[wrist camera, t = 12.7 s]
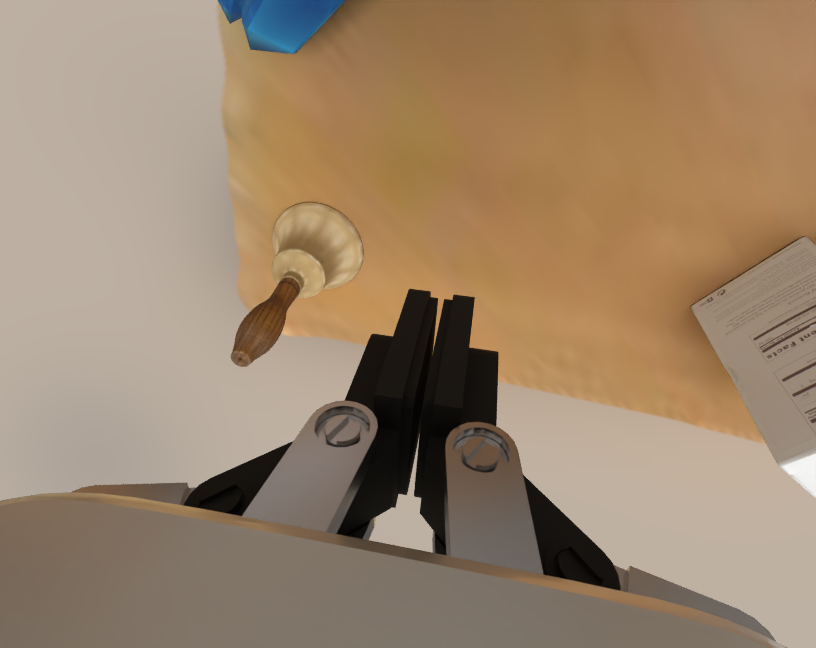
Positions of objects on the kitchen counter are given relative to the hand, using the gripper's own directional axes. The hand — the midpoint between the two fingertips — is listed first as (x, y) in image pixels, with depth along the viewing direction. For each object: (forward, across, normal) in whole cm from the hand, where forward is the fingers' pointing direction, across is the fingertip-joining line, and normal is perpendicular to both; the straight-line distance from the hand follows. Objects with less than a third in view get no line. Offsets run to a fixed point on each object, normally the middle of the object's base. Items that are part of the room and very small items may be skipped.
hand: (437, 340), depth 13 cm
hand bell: (+27, +13, +12) cm, 33 cm away
